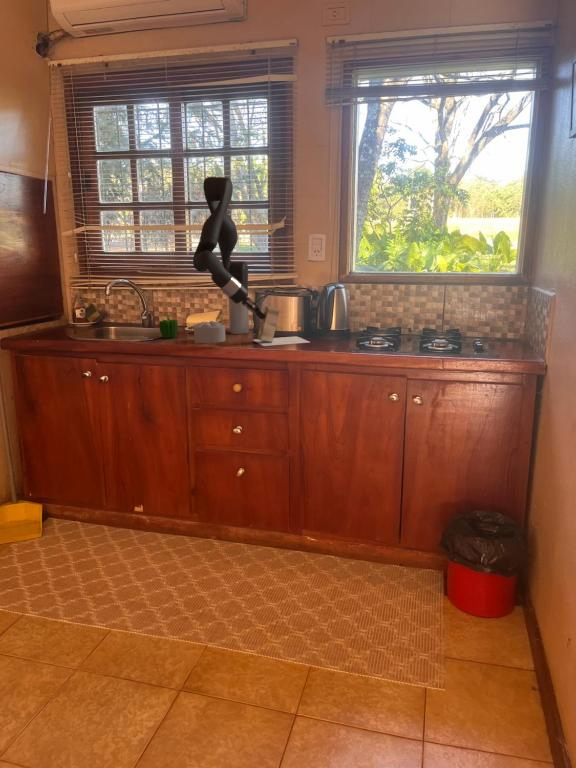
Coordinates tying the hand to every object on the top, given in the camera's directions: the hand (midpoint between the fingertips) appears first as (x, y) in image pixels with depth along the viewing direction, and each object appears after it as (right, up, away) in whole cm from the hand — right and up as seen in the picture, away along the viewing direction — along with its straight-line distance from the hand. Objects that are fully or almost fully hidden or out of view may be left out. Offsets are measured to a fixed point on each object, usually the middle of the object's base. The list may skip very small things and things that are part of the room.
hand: (263, 317), depth 230 cm
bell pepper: (-44, -7, +20) cm, 49 cm away
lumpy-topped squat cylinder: (-23, -10, +9) cm, 27 cm away
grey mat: (+7, -10, +5) cm, 13 cm away
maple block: (0, -9, +3) cm, 10 cm away
